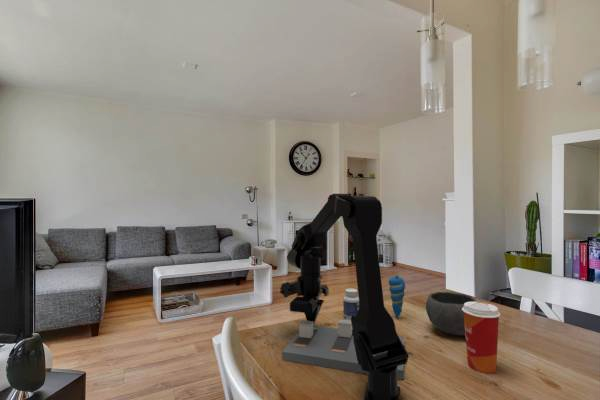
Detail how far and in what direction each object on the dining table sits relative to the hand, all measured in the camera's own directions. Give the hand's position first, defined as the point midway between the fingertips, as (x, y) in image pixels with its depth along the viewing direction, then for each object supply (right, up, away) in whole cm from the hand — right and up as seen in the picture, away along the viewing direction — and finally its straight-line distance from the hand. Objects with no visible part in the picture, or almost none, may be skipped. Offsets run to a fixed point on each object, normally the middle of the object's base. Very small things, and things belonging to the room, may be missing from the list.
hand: (311, 327), depth 87 cm
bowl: (+42, -3, +4) cm, 42 cm away
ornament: (+29, -3, +14) cm, 33 cm away
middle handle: (+9, -1, -4) cm, 10 cm away
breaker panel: (+9, -3, -8) cm, 12 cm away
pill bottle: (+14, -3, +13) cm, 19 cm away
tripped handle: (-1, -1, -4) cm, 4 cm away
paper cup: (+39, -3, -16) cm, 42 cm away
